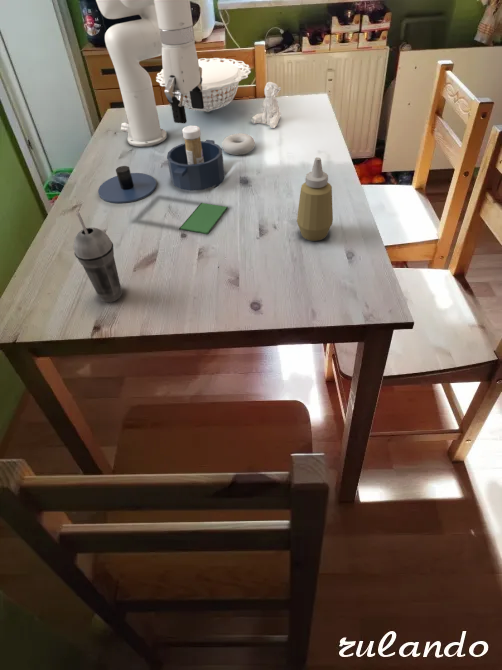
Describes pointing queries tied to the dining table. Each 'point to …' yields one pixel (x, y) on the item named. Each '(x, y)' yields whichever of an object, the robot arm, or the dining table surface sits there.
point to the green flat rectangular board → (203, 218)
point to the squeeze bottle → (315, 204)
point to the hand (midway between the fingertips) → (189, 115)
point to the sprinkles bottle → (193, 144)
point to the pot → (196, 167)
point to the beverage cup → (98, 261)
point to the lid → (127, 186)
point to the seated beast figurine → (269, 107)
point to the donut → (238, 144)
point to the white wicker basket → (216, 82)
